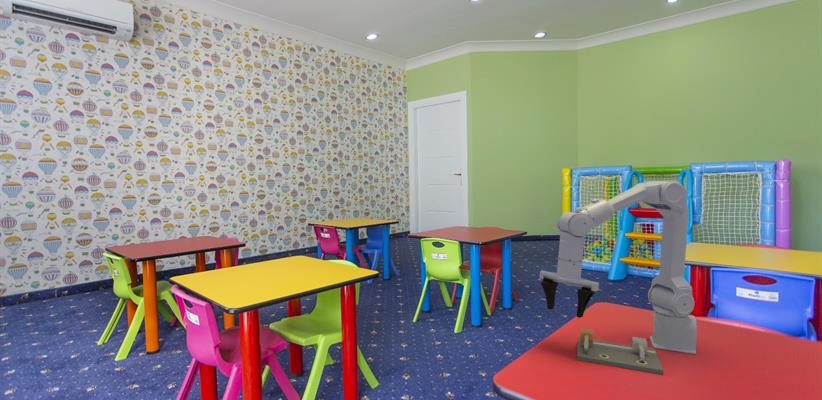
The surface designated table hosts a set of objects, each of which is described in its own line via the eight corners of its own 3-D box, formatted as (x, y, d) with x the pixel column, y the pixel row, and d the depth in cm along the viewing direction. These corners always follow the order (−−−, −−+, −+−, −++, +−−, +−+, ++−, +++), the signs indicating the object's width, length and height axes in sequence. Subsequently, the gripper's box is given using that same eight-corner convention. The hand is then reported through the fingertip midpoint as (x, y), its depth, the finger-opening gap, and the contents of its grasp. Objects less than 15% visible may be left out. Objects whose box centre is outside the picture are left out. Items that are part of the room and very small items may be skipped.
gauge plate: (655, 352, 104) (655, 345, 104) (663, 374, 92) (663, 366, 92) (578, 341, 111) (578, 334, 111) (576, 359, 99) (576, 352, 99)
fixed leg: (645, 350, 102) (645, 338, 102) (649, 363, 95) (650, 350, 95) (631, 348, 104) (632, 336, 103) (634, 360, 96) (635, 348, 96)
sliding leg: (592, 342, 107) (593, 330, 107) (592, 353, 100) (593, 340, 100) (580, 340, 108) (580, 328, 108) (579, 351, 101) (579, 338, 101)
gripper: (536, 255, 106) (531, 307, 107) (593, 266, 96) (587, 323, 97) (548, 253, 112) (543, 303, 112) (604, 264, 101) (598, 318, 102)
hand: (564, 312), depth 105 cm, fingers open, 7 cm apart
